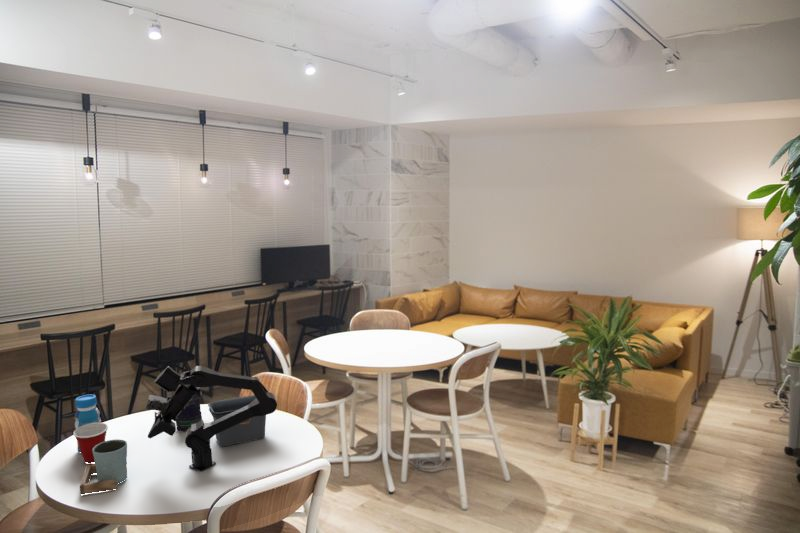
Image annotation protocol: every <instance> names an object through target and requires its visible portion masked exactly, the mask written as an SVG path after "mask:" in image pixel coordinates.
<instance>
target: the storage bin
mask: <svg viewBox="0 0 800 533" xmlns="http://www.w3.org/2000/svg"><path fill="white" fill-rule="evenodd" d="M255 398H256V397H255V395H254V394H253V395H247V396H241V397H233V398H227V399H222V400H221V399H220V400H215V401H211V402H208V404H207V406H208V411H209V412H210V414H211V417H212V418H213V421H215V420H217V419H219V418H221V417H223V416H225V415H228V414H230V413H232V412H234V411H236V410H238V409H240V408H243V407H245V406H247V405H249V404H250V403H251V402H252V401H253V400H254V399H255ZM266 420H267V415H264V416H256V417H252V418H250V419H248V420H246V421H243V422H241V423H239V424H237V425H235V426H233V427H231V428H229V429H226V430H224V431H222V432H220V433H218V434H216V435H215V439H216V440H217V443H218V444H219V446H220V447H227V446H231V445H236V444H243V443H247V442H251V441H252V442H253V441H257V439H258V440H261V439H262V440H263V439H264V438H265V436H266Z"/></svg>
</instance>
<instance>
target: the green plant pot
mask: <svg viewBox="0 0 800 533" xmlns="http://www.w3.org/2000/svg"><path fill="white" fill-rule="evenodd" d="M92 450H93V456H94V461H95V464H96V471H97V475H96V480H97V482H99V481H105V480H111V479H116V484H118V483H120V482H122V481H124V480H125V479H126V478H127V479H128V467H127V464H128V462H127V460H128V459H127V458H128V443H127V441H126V440H125V439H124V440H123V439H109V440H105V442H102V443H99V444H97V445H96V446H95V447H94V448H93V449H92ZM127 479H126V480H127ZM124 482H125V481H124Z"/></svg>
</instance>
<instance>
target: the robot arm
mask: <svg viewBox="0 0 800 533" xmlns="http://www.w3.org/2000/svg"><path fill="white" fill-rule="evenodd" d="M153 383H154V385H156V386H158V387H160V388H161V389H162V390H164V391H166V392H167V393H171V392H173V393H172V395H171V394H170V395H168V396H167V397H162V396H159V395H153V394H149V395H148V397H147V400H146V403H145V409H146V410H153V411H154V422H153V424H152V426H151V429H150V430H149V431H148V434H147V438H148V439H152V438H154V437H156V436H158V435H160V434H162V433H165V434H167V435H169V436H170V437H171V436H173V435H175V433H176V432H177V426H176V420H177V416H178V415H179V414H180V412H181V411H184V410H185V406H186V405H187V404H188V403H189V401H190V400H191V399H192V398H193V396H194V395H197V396H198V397H200V398H202V388H208V387H209V388H210V387H213V386H214V387H216V386H218V387H219V386H220V387H225V388H234V389H242V390H248V391H249V390H250V391H251V392H252V393H253V395H255V397H256V398H255V399H254V400H253V401H252V402H251V403H250V404H249V405H247V406H245V407H243V408H240V409H238V410H236V411H234V412H232V413H230V414H228V415H225V416H223V417H221V418H219V419H217V420H215V421H214V420H212V421H211V422H204V420H203V419H202V420H201V421H199V422H198V423H195V424H191V427H190V428H188V430H187V432H185V439H184V440H185V441H184V443H185V446H186V447H187V448H188V449H191V453H190V454H191V464H190V465H188V468H191V469H193V470H195V471H200V472H203V471H205V470H207V469H209V468H210V467H212V466H215V465H216V464H217V462H216V461H214V460H213V456H212V455H213V454H212V453H213V451H212V448H211V439H212V438H213V437H214V436H216V434H218V433H220V432H222V431H224V430H226V429H229V428H231V427H233V426H235V425H237V424H239V423H241V422H243V421H246V420H248V419H250V418H252V417H256V416H264V415H266V416H267V415H271V414H273V413H274V412H275V411H277V408H278V403H277V397H276V396H275V394H274V393H273V392H269V390H268V389H267V388H266V387H265V386H264V384H263V383H262V382H261V381H260V378H258V377H257V376H247V375H241V374H233V373H232V374H231V373H225V372H220V371H219V372H218V371H216V370H214V369H212V368H210V367H205V366H202V365H195V367H192V369H191V370H188V371H183V372H181V373H178V372H177V371H175V369H173V368H172V367H171V366H170V365H168V366H167V367H166V368H164V370H162V371H161V372H160V373H159V374H158V376H156V378H155V380H154V382H153ZM174 391H175V392H174ZM156 411H157V412H156Z"/></svg>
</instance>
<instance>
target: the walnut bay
mask: <svg viewBox="0 0 800 533" xmlns="http://www.w3.org/2000/svg"><path fill="white" fill-rule="evenodd" d="M93 473H97V471H96V464H90V465H88V464H86V467H85V470H84V473H83V476H82V477H81V481H80V483H79V492H80V494H85V493H92V492H99V491H106V490H113V489H118V485H117V484H116V479H111V480H105V481H99V482H98V481H94V482H89V479H90V476H91V474H93ZM91 477H92V476H91ZM90 480H91V479H90ZM88 482H89V483H88Z"/></svg>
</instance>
